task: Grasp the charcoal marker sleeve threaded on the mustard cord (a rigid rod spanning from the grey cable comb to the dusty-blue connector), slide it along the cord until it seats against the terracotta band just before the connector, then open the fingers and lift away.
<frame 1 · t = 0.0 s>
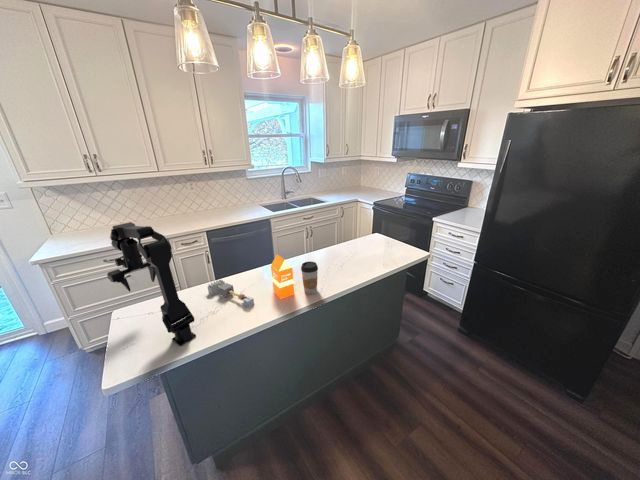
hand: (141, 286, 112), 15 cm above the countertop, fingers open, 9 cm apart
coffee cup: (310, 291, 131), on the countertop
cord rig: (232, 297, 128), on the countertop
sleeve: (226, 290, 129), point 3 cm above the countertop, slide at 0.0 cm
orange juice: (283, 292, 131), on the countertop
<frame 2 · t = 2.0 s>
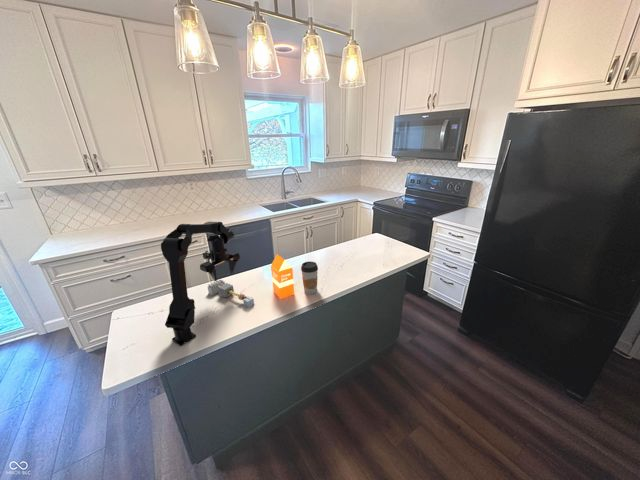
hand: (223, 277, 126), 10 cm above the countertop, fingers open, 9 cm apart
nothing on the countertop moved.
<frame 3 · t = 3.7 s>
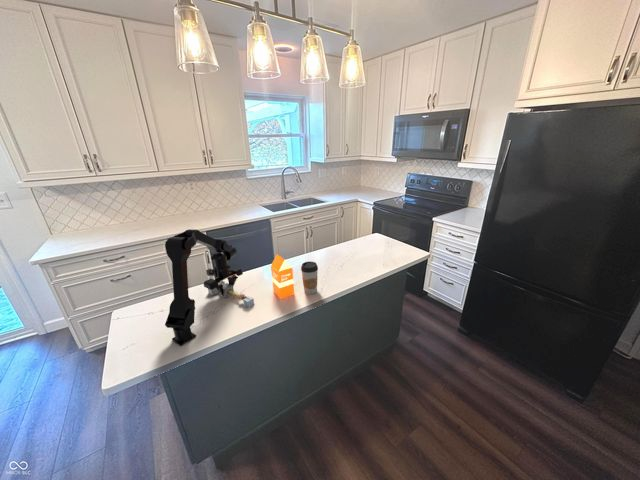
hand: (226, 292, 130), 1 cm above the countertop, fingers closed on sleeve, 5 cm apart
sleeve: (226, 290, 129), point 3 cm above the countertop, slide at 0.0 cm, touching gripper
everything else where it was.
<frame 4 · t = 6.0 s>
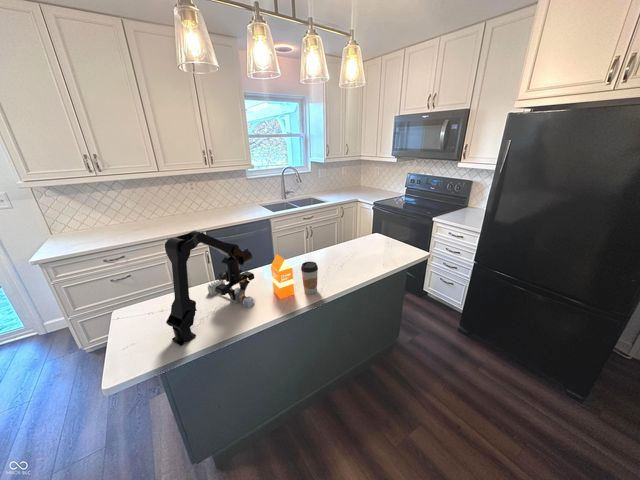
hand: (238, 297, 125), 1 cm above the countertop, fingers closed on sleeve, 5 cm apart
sleeve: (237, 294, 124), point 3 cm above the countertop, slide at 8.6 cm, touching cord rig, gripper
everything else where it was.
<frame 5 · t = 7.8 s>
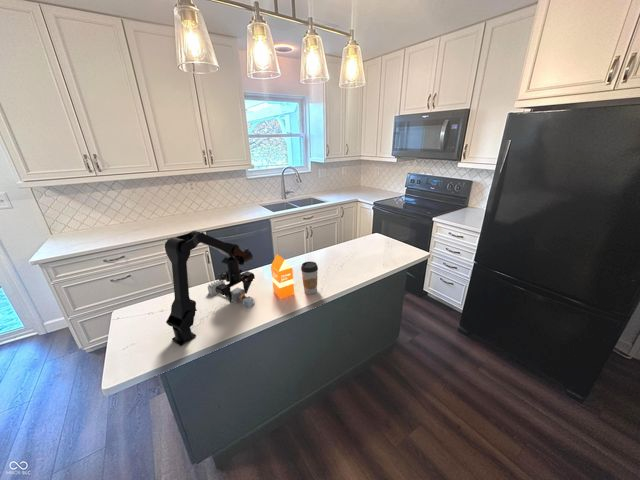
hand: (238, 297, 125), 1 cm above the countertop, fingers open, 9 cm apart
sleeve: (237, 294, 124), point 3 cm above the countertop, slide at 8.6 cm, touching cord rig
everything else where it was.
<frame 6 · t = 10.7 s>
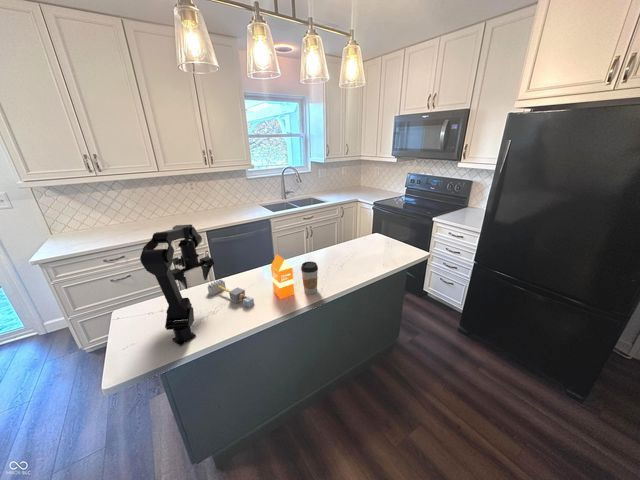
hand: (196, 284, 117), 12 cm above the countertop, fingers open, 9 cm apart
nothing on the countertop moved.
at the end: sleeve slide at 8.6 cm; the gripper is holding nothing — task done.
